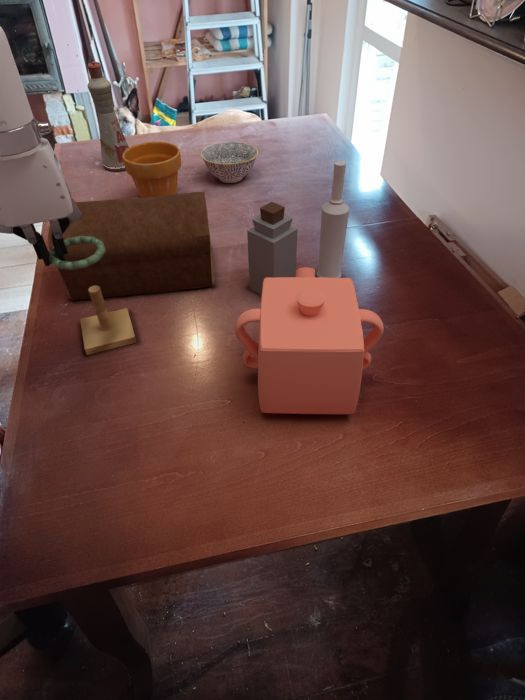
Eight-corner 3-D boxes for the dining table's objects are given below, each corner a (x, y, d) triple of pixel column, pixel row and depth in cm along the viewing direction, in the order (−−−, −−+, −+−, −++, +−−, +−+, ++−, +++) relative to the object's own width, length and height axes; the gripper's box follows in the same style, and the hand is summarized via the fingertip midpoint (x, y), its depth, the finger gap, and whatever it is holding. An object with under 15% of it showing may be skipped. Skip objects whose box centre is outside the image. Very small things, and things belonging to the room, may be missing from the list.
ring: (51, 276, 70) (49, 269, 69) (48, 247, 76) (46, 241, 75) (109, 264, 72) (107, 257, 71) (102, 237, 78) (100, 230, 77)
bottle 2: (315, 286, 100) (324, 168, 82) (317, 271, 103) (326, 156, 86) (340, 288, 99) (354, 170, 81) (341, 273, 103) (355, 157, 85)
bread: (80, 256, 109) (57, 190, 98) (210, 245, 112) (203, 178, 100) (68, 306, 96) (41, 235, 85) (216, 291, 99) (208, 221, 88)
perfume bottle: (249, 287, 99) (246, 208, 87) (271, 273, 103) (271, 195, 90) (273, 301, 96) (273, 220, 84) (295, 286, 100) (298, 206, 87)
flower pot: (195, 203, 126) (189, 154, 117) (146, 219, 121) (136, 169, 112) (171, 184, 135) (164, 137, 126) (124, 198, 129) (113, 149, 120)
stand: (86, 355, 86) (69, 310, 79) (82, 324, 92) (65, 280, 85) (136, 342, 88) (124, 297, 81) (128, 313, 94) (116, 269, 87)
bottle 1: (105, 161, 147) (79, 57, 128) (135, 159, 148) (113, 55, 128) (101, 173, 141) (73, 66, 121) (132, 171, 142) (110, 64, 122)
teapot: (244, 317, 93) (239, 236, 80) (361, 318, 92) (374, 237, 79) (234, 421, 75) (227, 337, 62) (379, 423, 74) (401, 339, 61)
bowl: (226, 162, 145) (225, 136, 140) (269, 174, 138) (269, 148, 133) (191, 181, 136) (188, 154, 131) (235, 195, 129) (234, 168, 124)
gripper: (69, 118, 65) (104, 237, 78) (-57, 136, 61) (1, 257, 74) (73, 138, 60) (109, 262, 73) (-64, 158, 56) (0, 285, 69)
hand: (55, 259), depth 73 cm, fingers closed on ring, 1 cm apart
